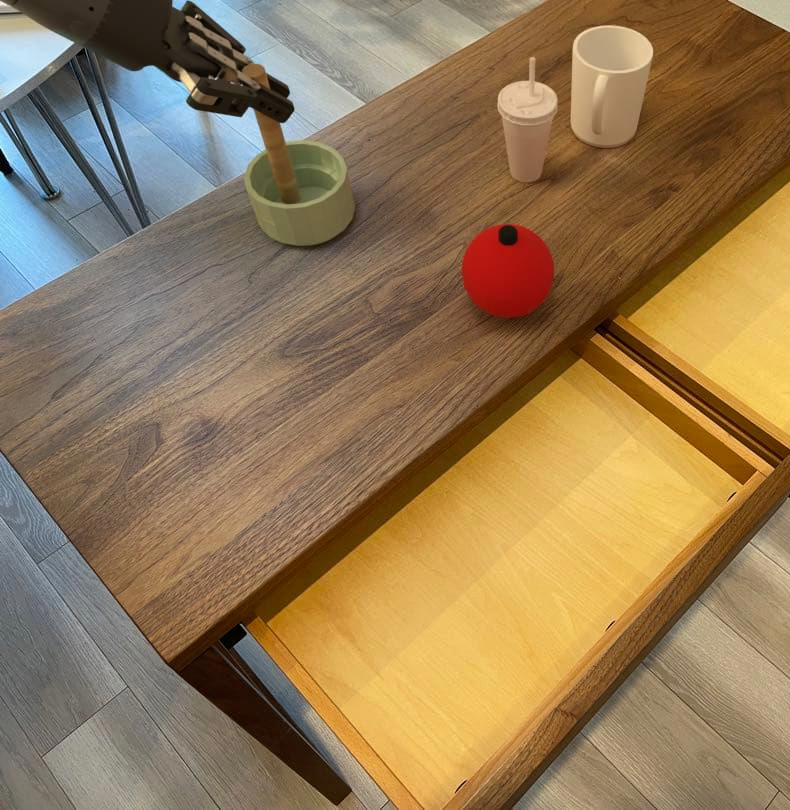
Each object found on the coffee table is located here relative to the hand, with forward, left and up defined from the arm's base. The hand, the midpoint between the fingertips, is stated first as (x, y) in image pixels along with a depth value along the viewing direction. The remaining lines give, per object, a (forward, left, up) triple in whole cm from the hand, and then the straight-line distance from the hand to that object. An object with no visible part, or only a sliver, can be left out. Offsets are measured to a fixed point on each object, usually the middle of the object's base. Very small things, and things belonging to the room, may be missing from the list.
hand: (286, 105), depth 74 cm
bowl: (-1, 0, -14) cm, 14 cm away
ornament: (+16, -18, -14) cm, 28 cm away
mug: (+35, +4, -14) cm, 38 cm away
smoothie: (+24, 0, -14) cm, 28 cm away
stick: (-2, 0, -11) cm, 11 cm away
